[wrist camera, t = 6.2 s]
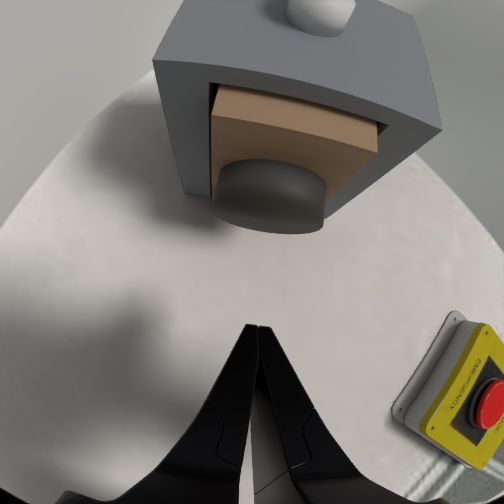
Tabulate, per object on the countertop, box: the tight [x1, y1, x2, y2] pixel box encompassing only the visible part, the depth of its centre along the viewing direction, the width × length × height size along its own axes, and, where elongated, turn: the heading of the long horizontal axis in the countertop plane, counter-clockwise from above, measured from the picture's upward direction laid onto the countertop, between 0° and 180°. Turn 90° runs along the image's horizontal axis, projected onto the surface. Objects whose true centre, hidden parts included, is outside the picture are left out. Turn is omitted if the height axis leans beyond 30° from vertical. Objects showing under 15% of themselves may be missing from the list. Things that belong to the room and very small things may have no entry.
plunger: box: [211, 83, 378, 234], centre depth 13 cm, size 6×5×10 cm
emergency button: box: [392, 311, 504, 470], centre depth 17 cm, size 9×4×15 cm
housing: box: [152, 0, 442, 218], centre depth 13 cm, size 6×9×13 cm
